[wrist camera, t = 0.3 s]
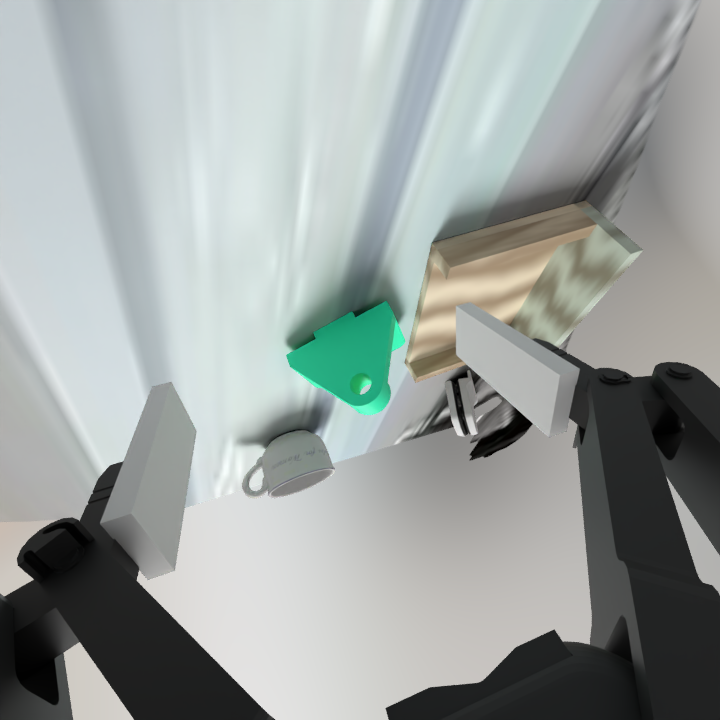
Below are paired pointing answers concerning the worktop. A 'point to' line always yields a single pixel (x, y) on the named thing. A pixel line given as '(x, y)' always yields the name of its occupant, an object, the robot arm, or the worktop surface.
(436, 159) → the worktop surface
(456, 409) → the grey rounded piece
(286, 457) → the teacup
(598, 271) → the dock
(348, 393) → the camera mount
